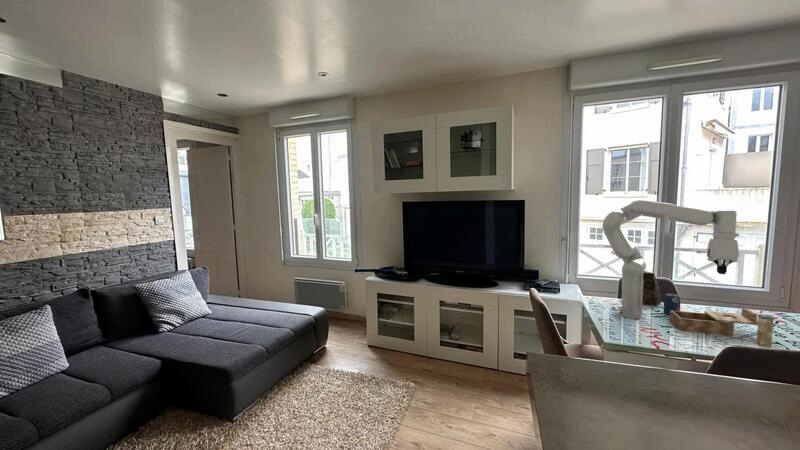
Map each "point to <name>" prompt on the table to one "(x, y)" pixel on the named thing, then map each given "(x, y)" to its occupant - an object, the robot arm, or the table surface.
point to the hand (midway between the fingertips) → (721, 273)
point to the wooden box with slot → (700, 323)
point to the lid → (735, 317)
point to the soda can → (671, 303)
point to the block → (765, 330)
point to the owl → (651, 289)
